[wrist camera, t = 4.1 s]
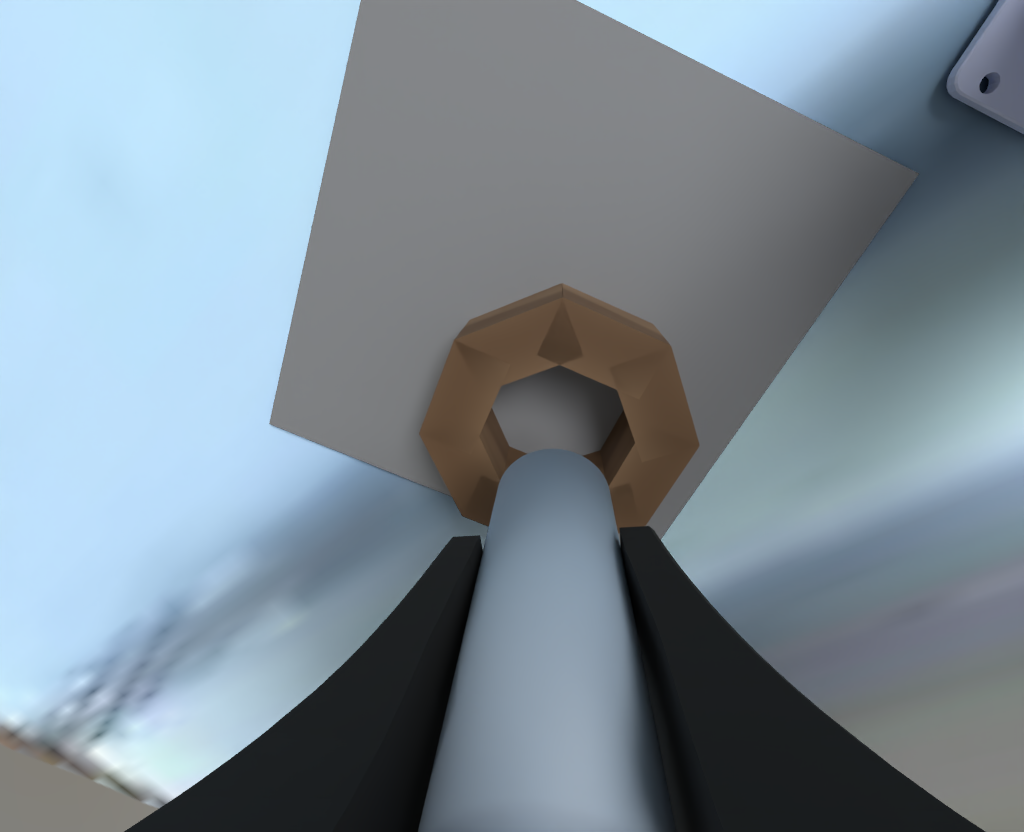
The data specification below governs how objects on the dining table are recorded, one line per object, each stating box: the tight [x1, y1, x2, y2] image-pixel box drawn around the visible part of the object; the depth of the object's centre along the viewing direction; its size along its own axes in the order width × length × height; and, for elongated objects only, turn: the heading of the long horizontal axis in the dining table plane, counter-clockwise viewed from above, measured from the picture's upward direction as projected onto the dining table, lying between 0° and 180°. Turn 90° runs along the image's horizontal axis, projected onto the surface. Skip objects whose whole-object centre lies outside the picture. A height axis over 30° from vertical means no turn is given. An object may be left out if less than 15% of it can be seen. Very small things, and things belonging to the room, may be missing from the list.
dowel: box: [418, 449, 676, 832], centre depth 9 cm, size 3×3×8 cm
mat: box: [269, 0, 919, 541], centre depth 18 cm, size 18×18×1 cm
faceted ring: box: [419, 283, 700, 533], centre depth 18 cm, size 9×9×3 cm
